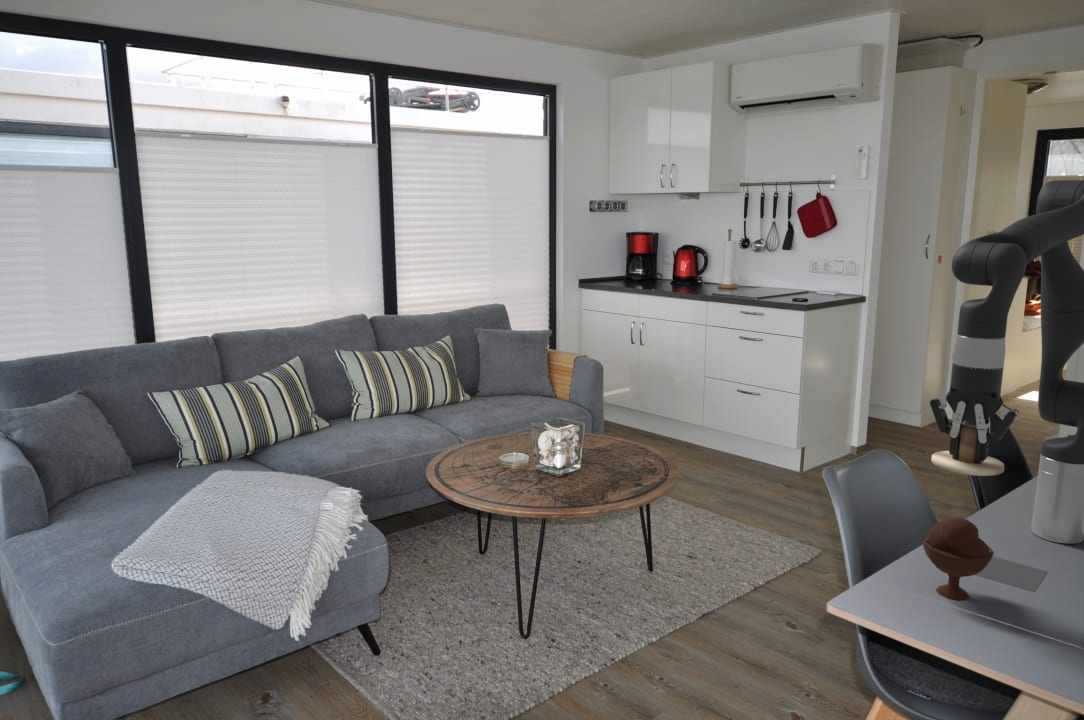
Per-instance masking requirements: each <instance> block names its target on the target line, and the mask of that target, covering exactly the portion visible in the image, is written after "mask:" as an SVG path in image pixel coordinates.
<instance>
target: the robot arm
mask: <svg viewBox="0 0 1084 720" xmlns="http://www.w3.org/2000/svg"><path fill="white" fill-rule="evenodd" d="M1035 211H1036V214H1033V215H1029V216H1026V217H1023V218H1020V219H1019V220H1017V221H1014V222H1013V223H1011V224H1010V225H1008V226H1006V227H1005V228H1003V229H1002V230H1001V231H997V232H994V233H990V234H985V235H983V236H979V237H976V238H974V239H971V240H969V241H967V242H965V243H964V244H963V245H961V246H960V247H959V248H958V249H957V250H956V252H955V253H954V255H953V258H952V260H951V272H952V274H953V276H954V277H955V278H956V279H957V280H958V281H959V282H960V283H962V284H966V285H973V286H985V287H986V286H987V287H988V286H989V287H991V290H990V291H989V293H988V295H987V296H986V297H985V298H984V297H983V298H974V299H968V300H965V301H964V302H962V303H961V306H960V309H959V313H958V314H959V316H958V322H957V323H958V324H957V335H956V339H955V342H954V347H953V353H952V357H951V358H952V366H951V375H950V386H949V391H948V392H947V393H946V395H945V396H941V397H939V396H937V397H934V398H933V399H931V400H930V401H929V406H930V408H931V410H932V413H933V414H932V415H933V416H934V419H935V421H936V425H937V428H938V429H939V432H940V433H942V434H943V433H945V434H946V435H949V438H950V441H949V450H948V451H949V453H950V455H953V456H952V458H953V459H958V450H959V441H960V431H961V425H966V423H967V422H966V421H970V422H974V423H976V424H975V426H977V430H978V438H979V442H978V443H977V449H976V458H975V463H978V464H981V463H982V462H983V461H985V460H986V458H987V457H988V456H989V447H990V446H989V445H990V443H993V442H995V443H997V442H999V441H1000V440H1002V438H1003V437H1004V435H1005V434H1006V433H1007V431H1008V430H1009V429H1010V427H1011V426H1012V425H1013V423H1014V421H1015V420H1016V419H1017V417H1018V416H1019V414H1020V411H1019V410H1018V409H1017V408H1011V407H1009V406H1008V405H1005V404H1004V401H1003V399H1002V396H1001V392H1002V384H1003V375H1004V367H1005V365H1004V364H1005V358H1006V335H1007V334H1006V333H1007V325H1008V318H1009V317H1008V316H1009V312H1010V309H1011V306H1012V304H1013V301H1014V299H1015V296H1016V293H1017V291H1018V289H1019V287H1020V285H1021V282H1022V280H1023V279H1024V276H1025V274H1026V269H1027V266H1028V265H1029V264H1030V263H1032V262H1033V261H1034V260H1035V259H1037V258H1039V257H1040V271H1041V272H1040V279H1041V280H1040V281H1041V282H1040V328H1041V329H1040V333H1041V334H1040V335H1041V363H1040V364H1041V365H1040V374H1039V383H1038V384H1039V385H1038V386H1039V387H1038V396H1037V397H1038V398H1037V400H1038V401H1037V403H1038V404H1037V406H1038V408H1037V409H1038V413H1039V417H1040V418H1041V420H1043V421H1045V422H1048V423H1052V424H1057V425H1062V426H1068V427H1073V428H1077V430H1076V433H1075V434H1072V435H1069V436H1060V437H1052V438H1048V439H1045V440H1044V441H1042V443H1041V449H1040V458H1039V465H1038V471H1037V472H1038V474H1037V482H1036V488H1035V496H1034V503H1033V504H1034V505H1033V513H1032V520H1031V527H1030V531H1031V533H1032V534H1034V535H1036V537H1039V538H1041V539H1044V540H1046V541H1050V542H1055V543H1059V544H1067V545H1068V544H1070V545H1071V544H1080V543H1081V542H1083V541H1084V382H1082V381H1075V380H1068V379H1065V378H1064V377H1063V373H1064V367H1065V365H1066V364H1067V363H1068V362H1069V360H1070V358H1071V357H1072V356H1073V355H1074V353H1076V352H1077V350H1078V349H1080V347H1081V346H1083V344H1084V269H1083V268H1082V266H1081V265H1080V263H1079V262H1078V261H1077V259H1076V258H1075V256H1074V254H1073V252H1072V251H1071V248H1070V245H1069V241H1071V240H1073V239H1076V238H1078V237H1081V236H1084V179H1062V180H1057V179H1056V180H1049V181H1047V182H1046V183H1044V184H1043V185H1042V186H1041V188H1040V190H1039V193H1038V195H1037V200H1036V210H1035ZM948 405H949V407H950V408H951V410H952V412H953V413H954V417H953V420H952V425H951V423H950V419H949V417H948V414H947V411H946V408H947V406H948ZM998 411H999V412H1000V414H999V418H1000V419H1001V422H1000V423H999V425H998V426H997V428H995V431H993V432H991V417H992V416H993V415H995V414H996V413H997V412H998Z"/></svg>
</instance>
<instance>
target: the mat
mask: <svg viewBox="0 0 1084 720" xmlns="http://www.w3.org/2000/svg"><path fill="white" fill-rule="evenodd" d="M1048 573H1049V571H1048V570H1044V569H1040V568H1037V567H1033V566H1030V565H1025V564H1022V563H1019V562H1015V561H1011V560H1007V559H1004V558H1002V557H1001V558H1000V557H997V556H994V555H993V556H992V559H991V561H990V562H989V563H988V565H987V566H986V567H985V568H984V569H983V570H982V571H981V572H979V573H977V574H975V575H974V576H976V577H977V576H978V577H980V578H983V579H987V580H991V581H995V582H998V583H1001V584H1005V585H1008V586H1011V587H1015V588H1019V589H1021V590H1025V591H1029V592H1032V593H1035V592H1036V591H1037V589H1038V587H1040V584H1041V583H1042V581H1043V580H1044V578H1045V577H1046V575H1048Z"/></svg>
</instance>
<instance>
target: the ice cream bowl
mask: <svg viewBox="0 0 1084 720" xmlns="http://www.w3.org/2000/svg"><path fill="white" fill-rule="evenodd" d="M927 534H928V535H927V536H925V537H924V538H923V539H922V547H923V549H924V552H925V555H926V557H928V559H929V560H930V562H931V563H932V564H933V565H934V566H935V568H937V569H938V570H939V571H941V572H942V573H945V574H947V575H948V580H947V584H943V585H939V586H938V587H937V588H936V589H935V591H936V593H937V594H938V595H939V596H941V597H943V598H945V599H948V600H953V601H957V602H959V601H967V600H968V599H969V598H970V594H969V593H968V592H967V591H966V590H964V588H962V587H960V580H961V578H965V577H966V578H967V577H971V576H976V575H975V574H977V573H979V572H981V571H982V570H983V569H984V568H985V567H986V566H987V565H988V563H989V562H990V561H991V559H992V556H993V557H994V554H995V551H993V549H992V548H990V547H989V545H988V544H987V543H986V542H985V541H984V540H983V539H981V538H980V535H979V529H978V527H977V525H976V524H974V523H973V522H971V521H970V520H969V519H967V518H963V517H960V516H957V517H952V518H948V519H947V520H946V519H945V520H941V521H939V522H937V523H936V524H933V525H932V527H931V528H930V530H929V531H928V533H927Z"/></svg>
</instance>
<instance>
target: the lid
mask: <svg viewBox="0 0 1084 720" xmlns="http://www.w3.org/2000/svg"><path fill="white" fill-rule="evenodd" d="M978 442H979V438H978V430H977V425H973V424H964V425H961V431H960V441H959V450H958V459H953V458H952V456H953V455H950V453H949V450H942V451H936V452H934V453H932V454H931V458H930V459H931V463H932V464H933V465H935V466H936V467H937V468H940V469H943V470H945V471H948V472H952V473H957V474H962V475H966V476H980V477H984V476H985V477H988V476H989V477H990V476H991V477H992V476H999V475H1000V474H1003V473H1004V471H1005V464H1004V462H1002V461H1000V460H999V459H997V458H995V457H992V456H989V455H988V457H987V458H986V460H985V461H983V462H982V463H981V464H978V463H975V458H976V449H977V443H978Z"/></svg>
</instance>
